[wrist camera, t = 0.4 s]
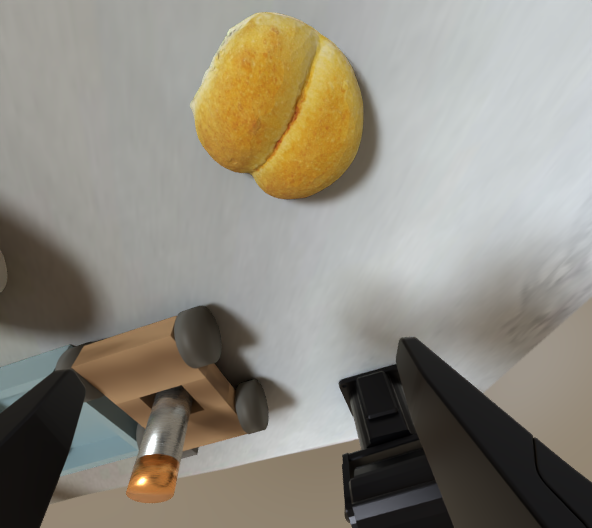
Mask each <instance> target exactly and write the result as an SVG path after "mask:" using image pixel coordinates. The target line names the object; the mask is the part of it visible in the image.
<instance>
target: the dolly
mask: <svg viewBox="0 0 592 528" xmlns="http://www.w3.org/2000/svg"><path fill="white" fill-rule="evenodd" d="M220 355H221V336H220V332H219V328H218V325H217V323H216V320H215V318H214V317H213V315H212V313H211V312H210V311H209V310H208V309H207V308H206V307H204V306H197V307H194V308H191V309H188V310H185V311H182V312H180V313H179V314H178V316H174V317H171V318H168V319H165V320H162V321H159V322H156V323H153V324H150V325H147V326H144V327H140V328H137V329H134V330H131V331H128V332H125V333H122V334H119V335H116V336H113V337H110V338H107V339H104V340H101V341H98V342H88V343H85V344H82V345H79V346H76V347H72V348H70V349H68V350H66V351H65V352H64V353H63V354H62V355H61V356H60V358H59V359H58V361H57V364H56V367H55V371H56V370H63V369H72V370H74V371H75V372H76V374H77V375H78V377H79V378H80V380H81V381H82V383H83V384H84V386H85V389H86V395H85V399H84V402H88V401H91V400H94V399H98V398H101V397H103V396H104V395H105V396H106V397H107V398H109V399H110V400H111V401H112V402H113V403H115V404H116V405H117V406H118V407H119V408H121V409H122V410H123V411H124V412H126V413H127V414H128V415H129V416H130V417H132V418H133V419H134V420H135V421H136V422H138V425H137V431H136V440H137V445H138V449H140V445H141V442H142V439H143V435H144V432H145V429H146V426H147V422H148V419H149V416H150V413H151V409H152V406H153V403H154V399H155V396H156V393H157V392H160V391H163V390H167V389H170V388H173V387H177V386H180V385H182V386H183V387H184V388H185V389H186V390H187V391H188V393H189V394H190V395H191V396H192V397H193V401H192V406H191V411H190V416H189V421H188V426H187V431H186V436H185V441H184V446H183V451H182V456H181V459H182V458H186V457H189V456H193V455H197V453H198V447H200V446H204V445H207V444H211V443H215V442H219V441H222V440H226V439H230V438H233V437H237V436H241V435H245V434H251V433H255V432H258V431H262V430H265V429H266V428H267V425H268V405H267V400H266V396H265V393H264V390H263V388H262V386H261V384H260V383H259V382H258V381H257V380H255V379H254V380H251V381H247V382H244V383H241V384H239V385H238V386H237V389H236V391H235V389H234V388H233V387H232V386H231V384H230V383H229V382H228V381H227V379H226V378H225V377H224V375H223V374H222V373H221V372H220V370H219V369H218V368H217V366H216V365H215V364H214V363H216V362H217V361H218V360H219V358H220Z"/></svg>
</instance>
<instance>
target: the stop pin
mask: <svg viewBox="0 0 592 528" xmlns="http://www.w3.org/2000/svg"><path fill="white" fill-rule="evenodd" d="M192 401H193V397H192V396H191V395H190V394H189V393H188V391H187V390H186V389H185V388H184V387H183V386H182V385H180V386H177V387H173V388H170V389H167V390H163V391H160V392H157V393H156V396H155V399H154V403H153V406H152V409H151V413H150V416H149V419H148V422H147V426H146V429H145V432H144V435H143V439H142V442H141V445H140V449H139V452H138V455H137V458H136V462H135V465H134V468H133V472H132V475H131V478H130V481H129V485H128V488H127V491H126V495H127V496H128V497H129V498H130V499H132V500H135V501H137V502H142V503H159V502H164V501H167V500H169V499H171V498H172V497H173V495H174V491H175V486H176V481H177V476H178V471H179V466H180V461H181V456H182V451H183V446H184V441H185V436H186V431H187V426H188V421H189V416H190V411H191V406H192Z"/></svg>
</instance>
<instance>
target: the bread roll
mask: <svg viewBox="0 0 592 528" xmlns="http://www.w3.org/2000/svg"><path fill="white" fill-rule="evenodd" d="M190 107H191V109H192V111H193V115H194V118H195V126H196V131H197V135H198V138H199V140H200V142H201V144H202V146H203V147H204V148H205V150H206V151H207V152H208V153H209V155H210V156H211V157H212V158H213V159H214V160H215V161H216V162H217V163H219V164H220V165H221V166H223V167H225V168H227V169H229V170H231V171H234V172H238V173H250V174H251V175H252V176H253V177H254V179H255V181H256V183H257V184H258V185H259V187H260V188H261V189H262V190H263V191H264V192H265V193H267V194H269V195H271V196H273V197H276V198H280V199H297V198H305V197H308V196H311V195H313V194H315V193H317V192H319V191H321V190H323V189H324V188H326V187H328V186H329V185H331V184H332V183H333V182H335V181H336V180H337V179H338V178H340V177H341V175H342V174H343V173H344V172H345V171H346V170H347V169H348V167H349V166H350V164H351V163H352V162H353V160H354V158H355V156H356V154H357V151H358V148H359V145H360V141H361V136H362V132H363V101H362V96H361V91H360V88H359V85H358V82H357V79H356V76H355V74H354V71H353V68H352V66H351V65H350V63H349V61H348V60H347V58H346V57H345V55H344V54H343V53H342V52H341V51H340V49H339V48H338V47H337V46H336V45H335V44H334V43H333V42H332V41H330V40H329V39H328V38H326V37H324V36H323V35H321V34H320V33H319V32H318V31H316V30H315V29H314V28H312V27H311V26H308V25H307V24H305V23H304V22H302V21H301V20H298V19H296V18H293V17H290V16H287V15H284V14H279V13H273V12H261V13H255V14H253V15H252V16H250V17H248V18H246V19H245V20H244V21H242V22H240V23H239V24H237V25H236V26H234V27H232V28H230V30H229V31H228V33H227V35H226V37H225V38H224V40H223V42H222V44H221V46H220V47H219V49H218V51H217V52H216V54H215V56H214V57H213V60H212V63H211V65H210V67H209V69H207V71H206V72H205V75H204V77H203V80H202V85H201V86H200V88H199V90H198V92H197V93H196V95H195V97H194V99H193V100H192V102H191V104H190Z"/></svg>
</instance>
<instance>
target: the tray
mask: <svg viewBox="0 0 592 528" xmlns="http://www.w3.org/2000/svg"><path fill="white" fill-rule="evenodd" d="M72 347H73V346H71V345H67V346H64V347H61V348H58V349H55V350H52V351H49V352H46V353H43V354H40V355H37V356H34V357H30V358H27V359H24V360H21V361H18V362H15V363H12V364H9V365H6V366H3V367H0V413H1V412H2V411H4V410H5V409H6V408H8V407H9V406H10V405H11V404H13V403H14V402H15V401H16V400H18V399H19V398H20V397H22V396H23V395H24V394H25V393H27V392H28V391H29V390H30V389H32V388H33V387H34V386H36V385H37V384H38V383H39V382H41V381H42V380H43V379H44V378H46V377H47V376H48V375H50V374H51V373H52V372H54V371H55V367H56V364H57V361H58V359H59V358H60V356H61V355H62V354H63V353H64V352H65V351H66V350H68V349H70V348H72ZM137 425H138V422H136V421H135V420H134V419H133V418H132V417H130V416H129V415H128V414H127V413H126V412H124V411H123V410H122V409H121V408H119V407H118V406H117V405H116V404H115V403H113V402H112V401H111V400H110V399H109V398H107V397H106V396H105V395H104V396H103V397H101V398H98V399H94V400H91V401H88V402H84V403H83V406H82V410H81V413H80V417H79V420H78V424H77V428H76V431H75V435H74V438H73V442H72V445H71V448H70V451H69V454H68V457H67V460H66V462H65V465H64V467H63V470H62V472H61V475H60V476H64V475H67V474H71V473H75V472H78V471H82V470H86V469H89V468H93V467H97V466H100V465H104V464H108V463H111V462H115V461H119V460H122V459H126V458H130V457H133V456H137V455H138V452H139V449H138V445H137V440H136V431H137Z"/></svg>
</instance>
